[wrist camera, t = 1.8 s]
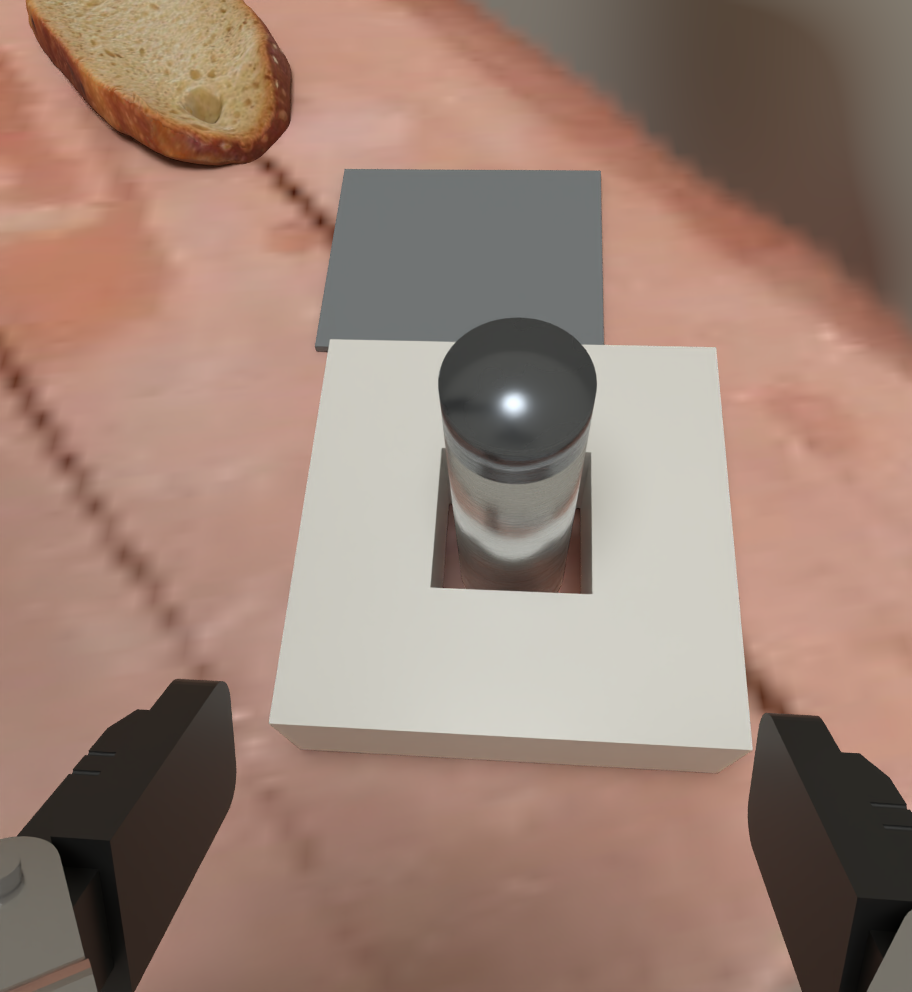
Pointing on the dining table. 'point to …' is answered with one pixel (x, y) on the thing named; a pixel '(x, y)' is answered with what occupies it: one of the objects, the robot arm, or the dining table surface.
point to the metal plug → (515, 449)
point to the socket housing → (516, 614)
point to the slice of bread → (173, 72)
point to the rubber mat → (463, 254)
